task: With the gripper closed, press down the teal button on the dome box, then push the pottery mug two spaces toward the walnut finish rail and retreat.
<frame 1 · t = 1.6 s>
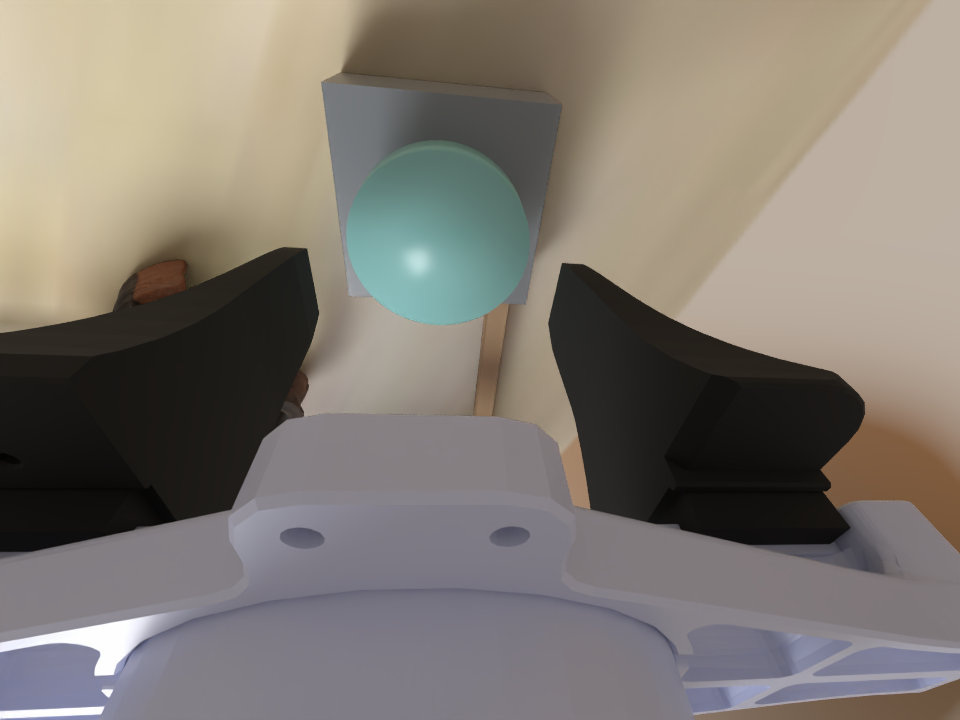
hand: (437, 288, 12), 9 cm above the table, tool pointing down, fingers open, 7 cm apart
finish rail: (487, 361, 25), on the table
dome box: (442, 188, 19), on the table
dome button: (440, 224, 15), point 4 cm above the table, slide at 0.0 cm
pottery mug: (209, 340, 24), on the table
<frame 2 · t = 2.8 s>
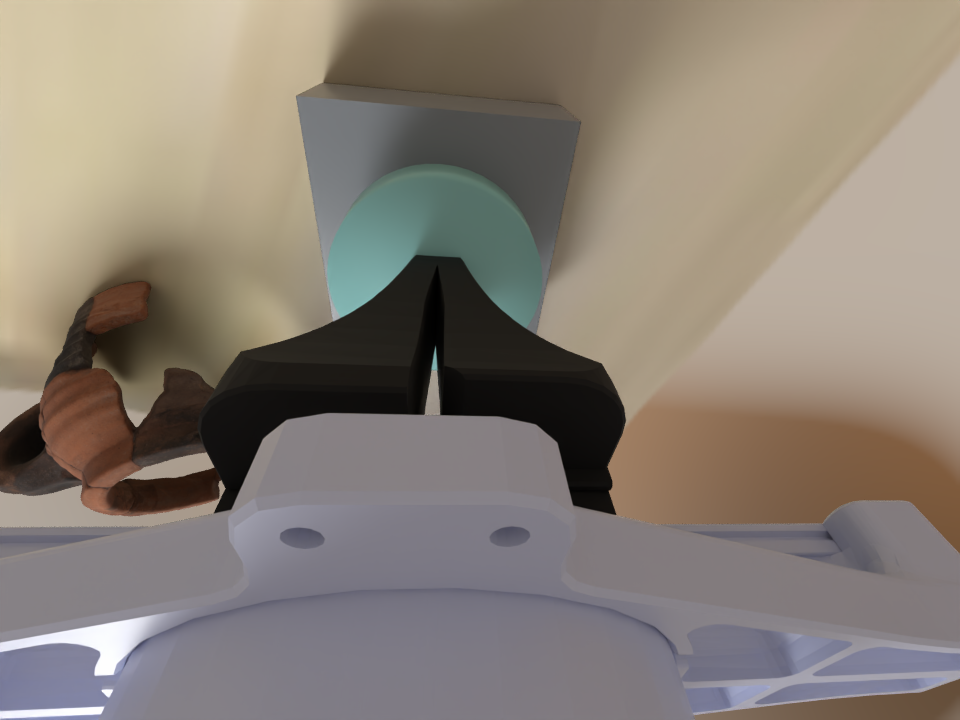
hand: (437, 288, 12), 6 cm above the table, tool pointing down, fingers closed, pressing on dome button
dome box: (441, 212, 17), on the table
dome button: (438, 256, 13), point 4 cm above the table, slide at -0.2 cm, touching gripper
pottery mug: (182, 368, 21), on the table
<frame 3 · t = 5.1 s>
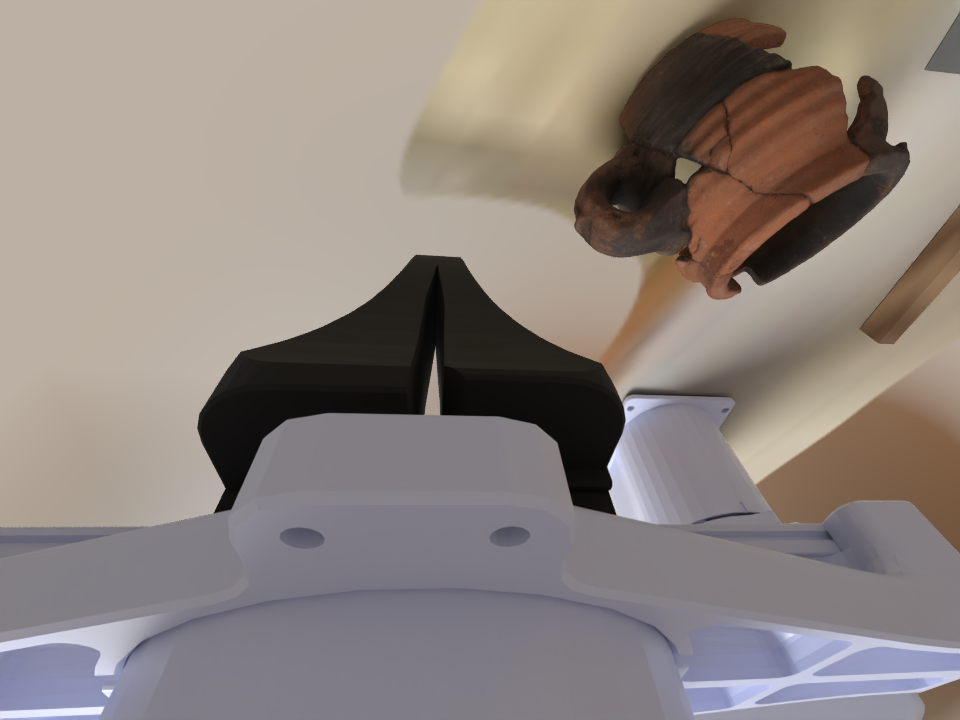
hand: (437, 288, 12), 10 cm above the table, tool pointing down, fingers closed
finish rail: (956, 220, 22), on the table
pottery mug: (680, 159, 20), on the table
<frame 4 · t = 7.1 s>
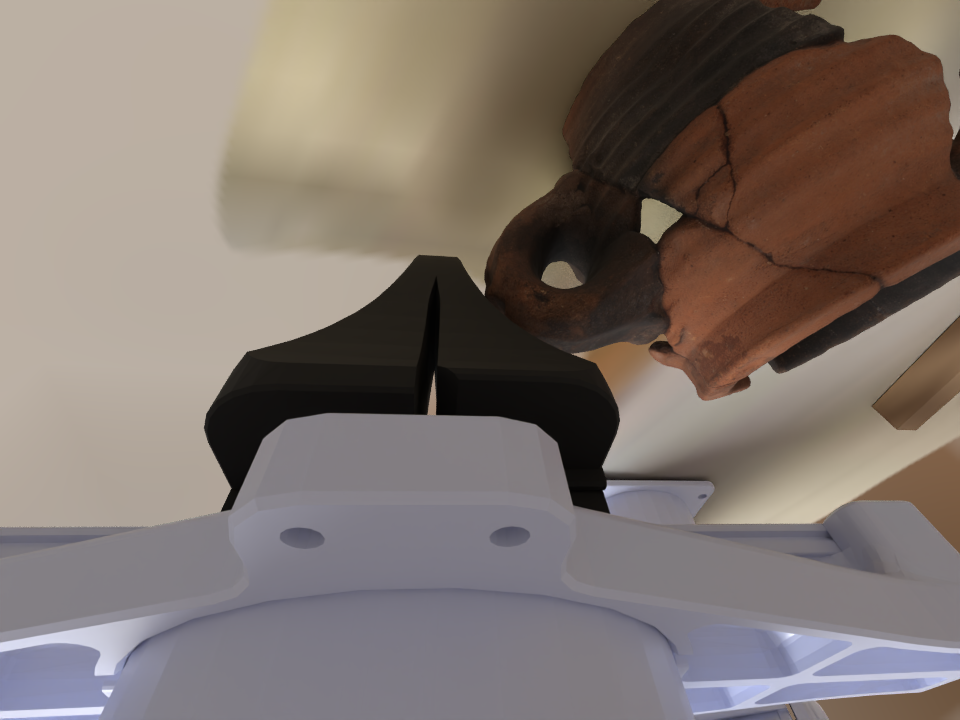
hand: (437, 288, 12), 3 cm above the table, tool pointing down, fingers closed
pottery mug: (658, 186, 13), on the table, touching gripper
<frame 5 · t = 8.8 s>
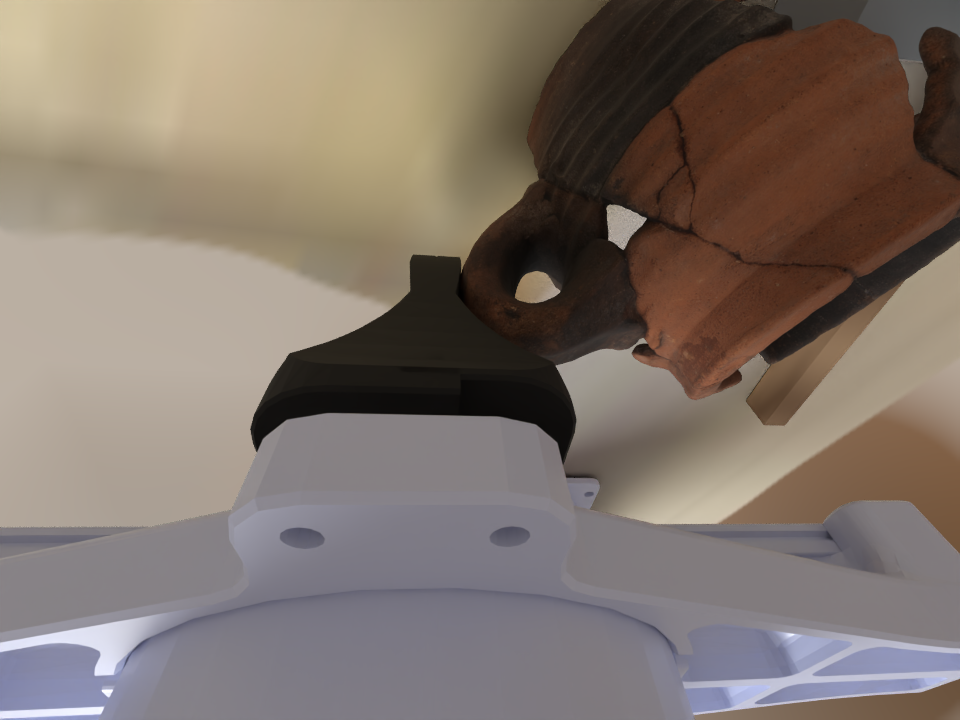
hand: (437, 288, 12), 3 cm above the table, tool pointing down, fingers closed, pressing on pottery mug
finish rail: (852, 267, 15), on the table
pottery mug: (632, 185, 13), on the table, touching dome box, gripper
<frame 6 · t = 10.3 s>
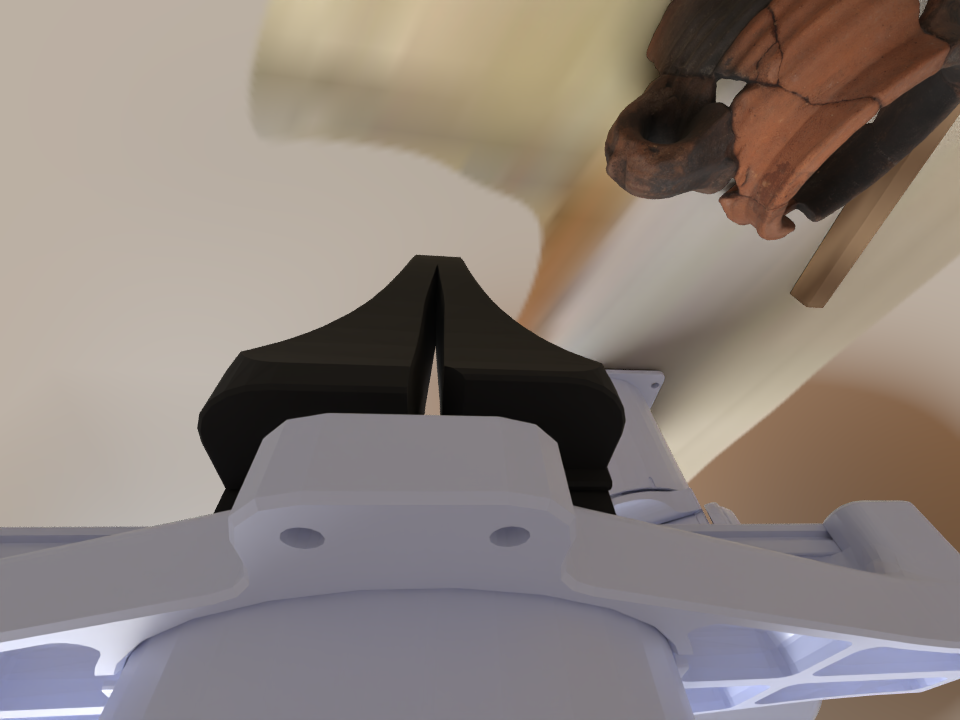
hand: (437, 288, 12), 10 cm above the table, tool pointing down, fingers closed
finish rail: (879, 167, 20), on the table
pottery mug: (715, 93, 18), on the table
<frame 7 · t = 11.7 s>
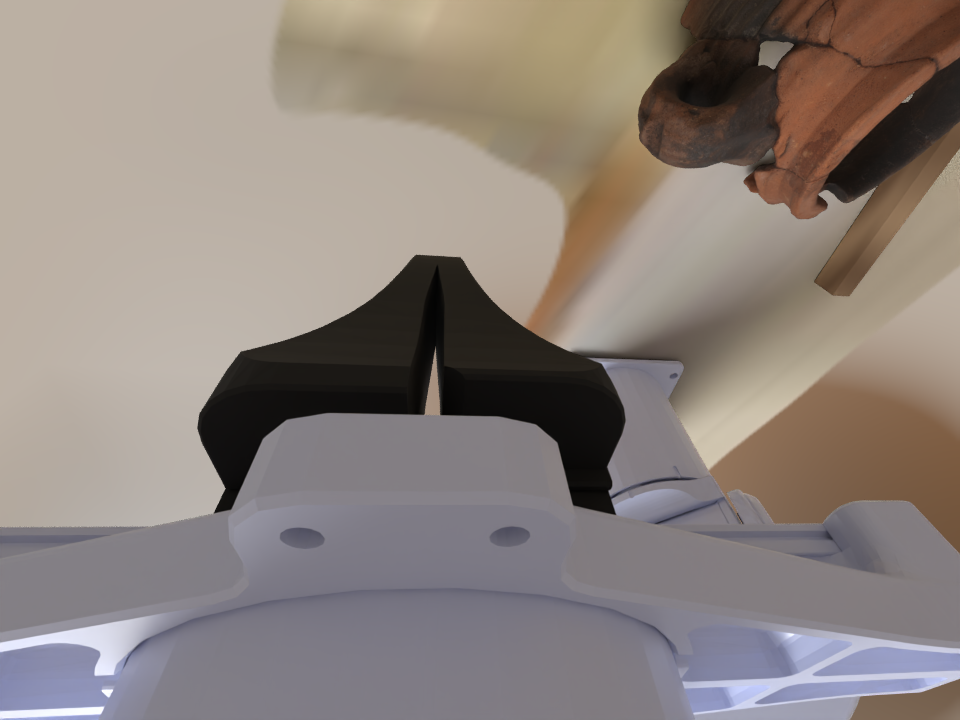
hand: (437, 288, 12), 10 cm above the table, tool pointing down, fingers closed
finish rail: (911, 150, 20), on the table
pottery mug: (747, 68, 17), on the table
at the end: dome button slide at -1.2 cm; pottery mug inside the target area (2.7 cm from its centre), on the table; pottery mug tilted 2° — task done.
